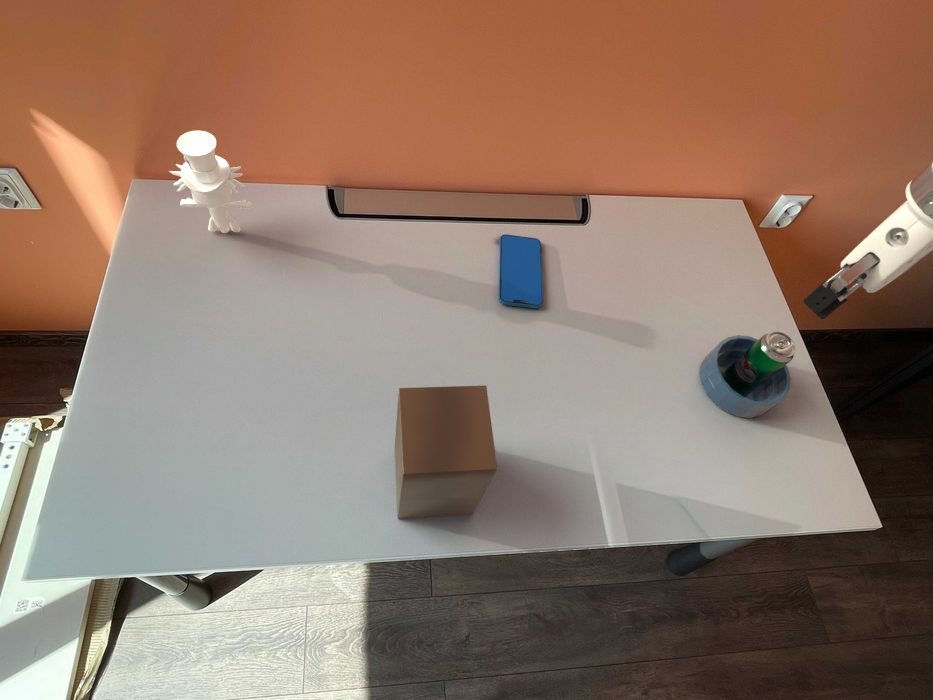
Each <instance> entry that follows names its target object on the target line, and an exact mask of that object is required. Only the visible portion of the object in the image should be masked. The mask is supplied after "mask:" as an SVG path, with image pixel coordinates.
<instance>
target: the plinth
mask: <svg viewBox="0 0 933 700" xmlns="http://www.w3.org/2000/svg"><path fill="white" fill-rule="evenodd" d="M487 388H488V386H487V385H455V386H425V387H422V386H421V387H398V393H397V394H398V395H397V410H396V420H395V433H394V434H395V435H394V465H395V467H394V468H395V486H396V487H395V490H396V493H395V494H396V514H397V515H396V517H397V520H402V519H418V518H432V517H433V518H434V517H446V516H461V515H473V514H474V513H475V511H476V510H477V507H478V506H479V503H480V502H481V500H482V498H483V497H484V495H485V492H486V491H487V489H488V487H489V486H490V484H491V482H492V480H493V478H494V476H495V474H496V473H497V471H498V463H497V462H498V461H497V455H496V448H495V440H494V434H493V425H492V417H491V411H490V402H489V396H488V389H487Z"/></svg>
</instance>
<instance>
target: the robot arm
mask: <svg viewBox="0 0 933 700" xmlns="http://www.w3.org/2000/svg"><path fill="white" fill-rule="evenodd" d="M905 198H906V201H904V202H903V203H902V204H901V205H900V206H899V207H898V208H897V209H895V211H893V212H892V213H891V214H890V215H889V216H887V218H885V219H884V220H883V221H882V222H881V223H880V224H879V225H878V226H877V227H875V229H874V230H873V231H871V232H870V233H869V234H868V235H867V236H866V237H865V238H864V239H863V240H862V241H861V242H860V243H859V244H858V245H857V246H855V247H854V248H853V250H851V251H850V252H849V254H848V255H846V256H845V257H844V259H842V261H841V262H840V270H839V271H838V272H836V273H835V274H833V275H832V276H831V277H829V279H827V280H826V279H825V280H824V281H823V282H822V283H820V284H819V286H817V287H816V288H815V289H814V290H813V291H811V293H810V294H808V295H807V296H806V297H805V298H804V299H803V304H805V306H807V307H808V308H809V309H810V311H812V312H813V313H814V314H815V315H816V316H817V317H818V318H819V319H820V320H824V319H826V318H827V317H829V316H830V315H832V313H833V312H835V311H836V310H837V309H839V308H840V307H841V306H842V305H843V304H844V303H846V302H847V301H848V297H849V296H851V295H852V294H853V293H854V292H857V290H859V289H860V288H862V289H864V290H865V292H866V293H869V294H873V293H877V292H878V291H880V290H881V289H883V288H885V286H887V285H888V284H890V283H891V282H893V281H894V280H896V279H897V278H899V277H900V276H901V275H903V274H904V273H905V272H907V271H909V270H910V269H911V268H912V267H913V266H914V265H916V264H917V263H918V262H920V261H921V260H922V259H924V257H926V256H927V255H928V254H930V253H931V252H932V251H933V160H932V161H931V162H930V163H929V164H927V165H926V166H925V168H923V170H921V171H920V172H919V173H918V174H917V175H916V176H915V177H914V178H913V179H912V180H910V181H909V182H908V184H907V185H906V188H905ZM853 282H855V283H854V285H853V286H851V287H849V288H847V287H848V286H849V285H850V284H851V283H853Z"/></svg>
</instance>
